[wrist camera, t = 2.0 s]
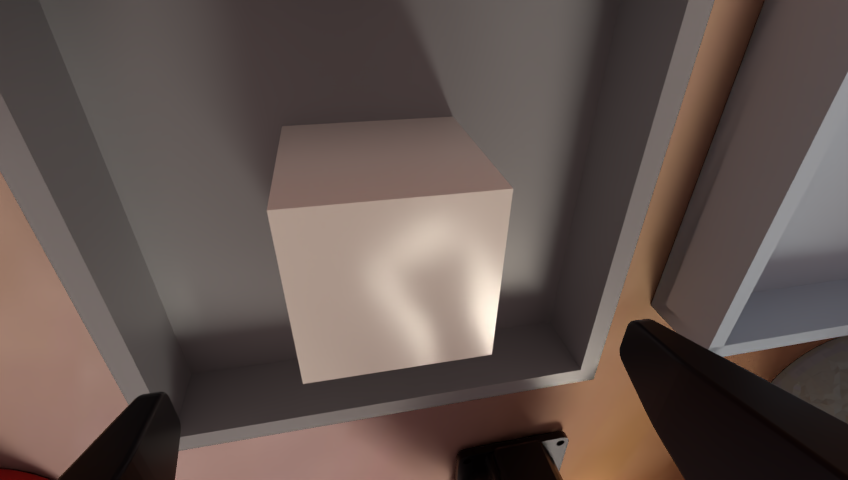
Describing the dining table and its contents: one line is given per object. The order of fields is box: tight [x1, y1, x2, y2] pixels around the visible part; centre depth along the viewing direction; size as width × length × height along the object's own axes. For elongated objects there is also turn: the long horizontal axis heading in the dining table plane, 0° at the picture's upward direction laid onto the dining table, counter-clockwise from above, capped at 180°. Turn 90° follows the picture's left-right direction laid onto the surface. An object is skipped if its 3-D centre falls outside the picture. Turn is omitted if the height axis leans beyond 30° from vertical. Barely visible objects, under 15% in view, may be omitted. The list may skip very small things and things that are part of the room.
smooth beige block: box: [267, 116, 513, 384], centre depth 12 cm, size 5×5×5 cm
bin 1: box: [0, 0, 715, 451], centre depth 14 cm, size 15×16×4 cm
